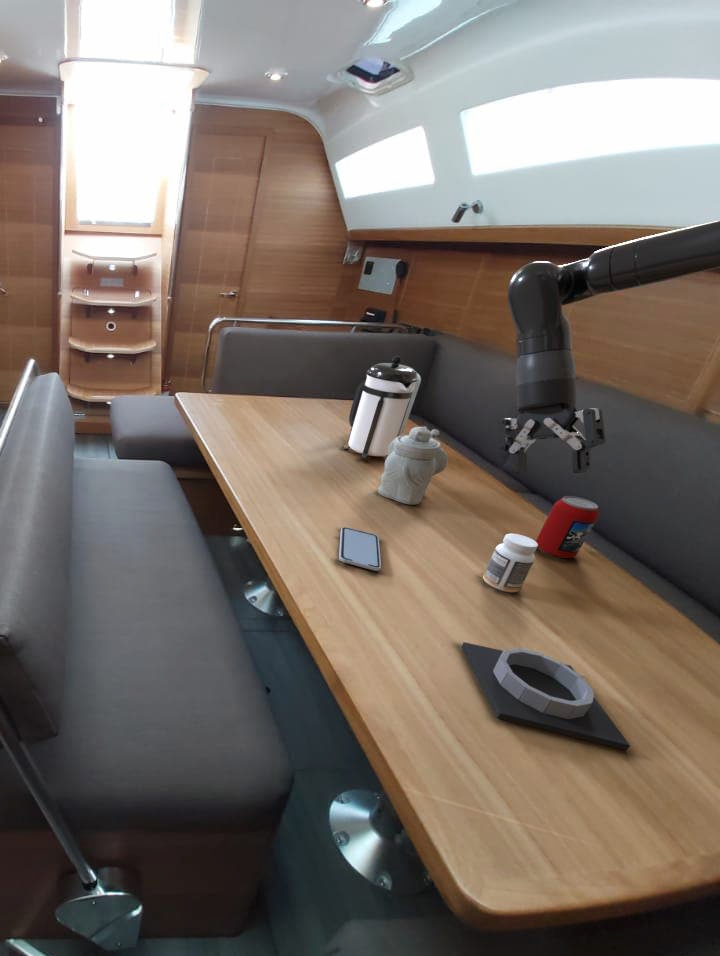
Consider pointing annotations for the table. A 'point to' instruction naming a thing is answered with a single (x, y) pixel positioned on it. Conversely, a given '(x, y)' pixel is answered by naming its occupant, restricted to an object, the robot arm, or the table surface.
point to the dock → (533, 717)
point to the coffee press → (380, 407)
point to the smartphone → (359, 548)
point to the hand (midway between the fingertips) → (549, 473)
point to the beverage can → (567, 527)
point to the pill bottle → (511, 563)
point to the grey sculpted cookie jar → (412, 465)
